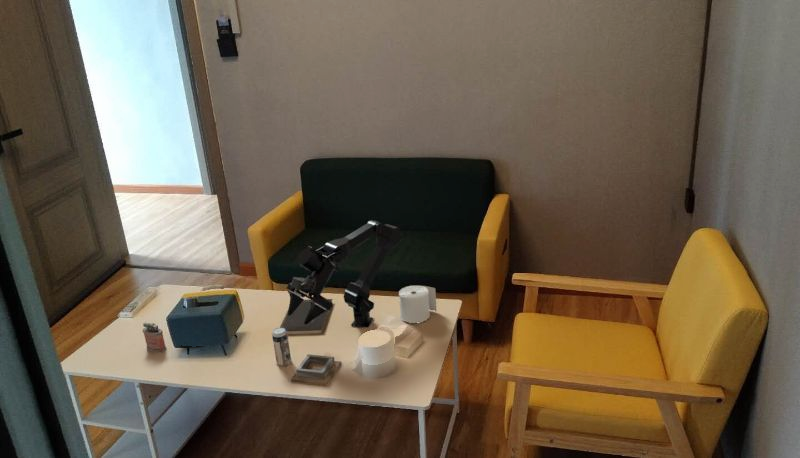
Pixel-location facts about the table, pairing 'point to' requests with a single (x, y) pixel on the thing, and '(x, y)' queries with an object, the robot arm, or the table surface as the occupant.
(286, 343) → the beer can
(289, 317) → the hardcover book
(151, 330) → the lighter
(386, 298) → the table surface
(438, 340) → the table surface
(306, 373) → the socket board
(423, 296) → the toilet tissue
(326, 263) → the robot arm
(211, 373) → the table surface
